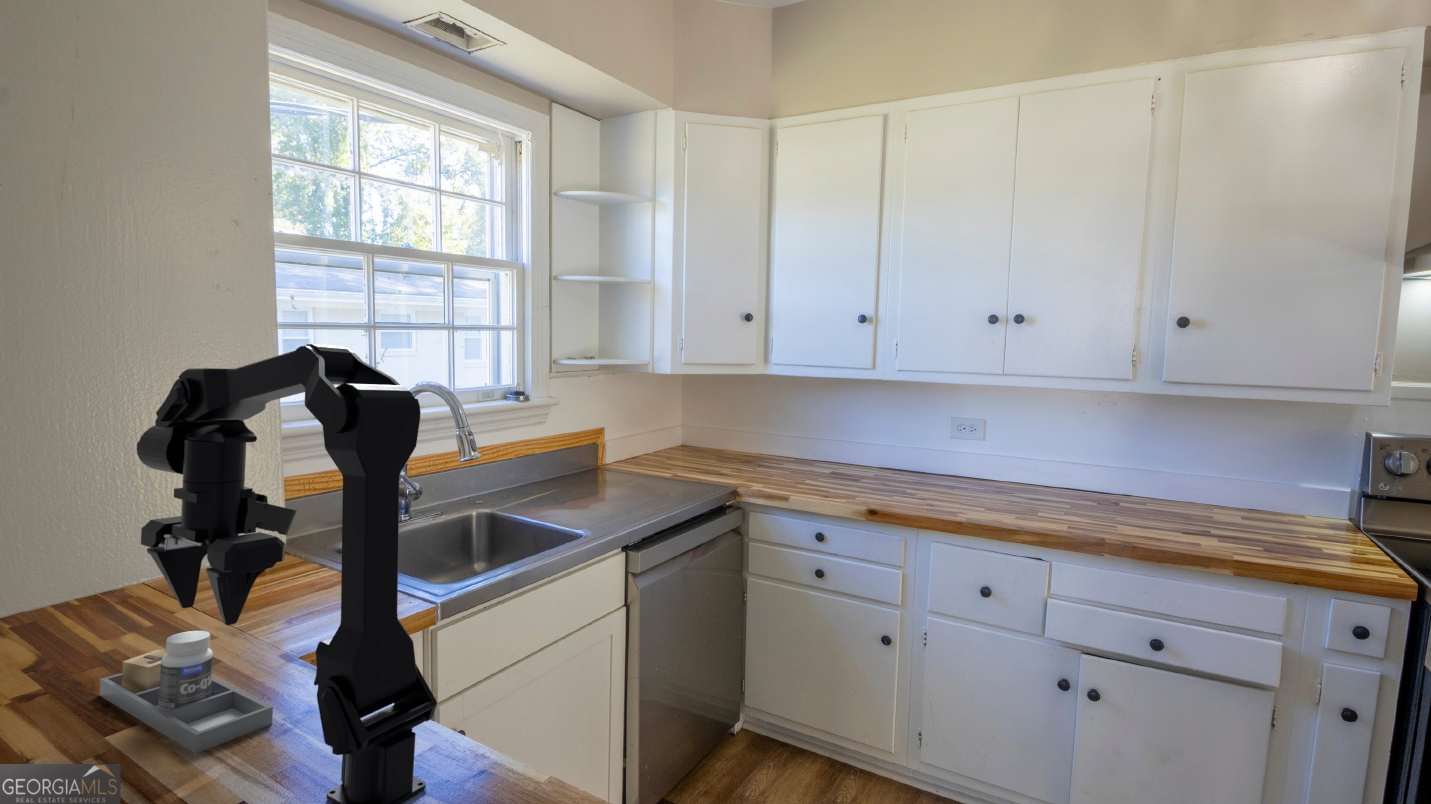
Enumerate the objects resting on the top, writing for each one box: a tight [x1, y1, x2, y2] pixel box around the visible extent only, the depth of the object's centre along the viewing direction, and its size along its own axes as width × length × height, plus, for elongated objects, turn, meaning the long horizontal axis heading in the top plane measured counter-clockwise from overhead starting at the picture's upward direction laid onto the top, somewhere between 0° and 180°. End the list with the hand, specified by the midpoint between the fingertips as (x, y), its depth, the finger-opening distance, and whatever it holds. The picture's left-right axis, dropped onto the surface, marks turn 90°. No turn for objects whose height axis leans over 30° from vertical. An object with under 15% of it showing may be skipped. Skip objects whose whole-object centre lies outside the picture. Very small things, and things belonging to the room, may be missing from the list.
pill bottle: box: [158, 630, 214, 712], centre depth 78 cm, size 5×5×8 cm
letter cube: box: [121, 649, 167, 694], centre depth 82 cm, size 4×4×4 cm
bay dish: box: [99, 672, 274, 755], centre depth 78 cm, size 22×8×3 cm, turn 62°
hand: (208, 615), depth 78 cm, fingers open, 9 cm apart
